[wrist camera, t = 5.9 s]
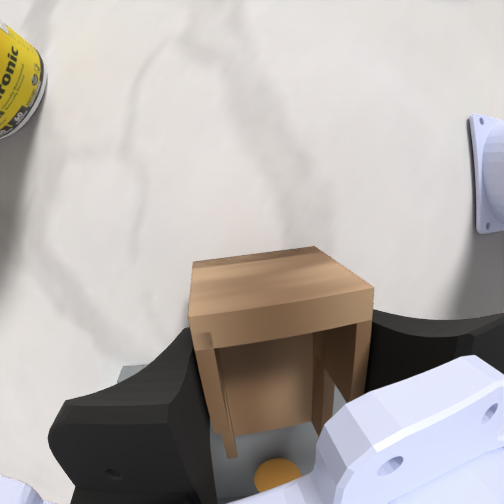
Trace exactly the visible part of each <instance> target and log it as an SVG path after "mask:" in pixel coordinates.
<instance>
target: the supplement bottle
mask: <svg viewBox="0 0 504 504" xmlns="http://www.w3.org/2000/svg"><path fill="white" fill-rule="evenodd" d="M46 80H47V69H46V64H45V61H44V59H43V57H42V56H41V54H40V53H39V52H38V51H37V50H36V49H35V48H34V47H32V46H31V45H30V44H29V43H28V42H26V41H25V40H24V39H23V38H22V37H20V36H19V35H18V34H17V33H16V32H14V31H13V30H12V29H11V28H10V27H8V26H7V25H6V24H5V23H3V22H2V21H1V20H0V139H2V138H5V137H8V136H10V135H12V134H14V133H15V132H17V131H18V130H19V129H20V128H21V127H22V126H23V125H24V124H25V123H26V122H27V121H28V120H29V119H30V117H31V116H32V115H33V113H34V112H35V110H36V108H37V107H38V105H39V103H40V101H41V98H42V96H43V93H44V90H45V86H46Z"/></svg>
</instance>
